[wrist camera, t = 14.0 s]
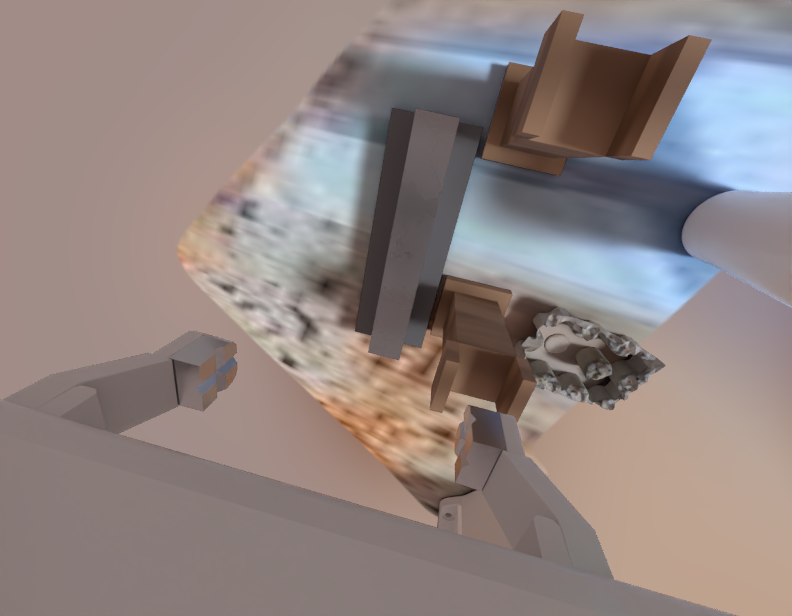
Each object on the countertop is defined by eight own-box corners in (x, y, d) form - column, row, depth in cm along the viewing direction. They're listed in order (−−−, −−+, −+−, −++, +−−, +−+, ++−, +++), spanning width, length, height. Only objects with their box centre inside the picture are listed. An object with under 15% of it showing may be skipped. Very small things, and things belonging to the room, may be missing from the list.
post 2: (556, 175, 25) (644, 186, 14) (480, 158, 25) (506, 156, 14) (592, 83, 22) (738, 5, 11) (507, 66, 22) (566, -29, 11)
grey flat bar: (421, 345, 33) (421, 348, 32) (356, 328, 33) (355, 331, 33) (482, 128, 24) (483, 127, 24) (393, 109, 24) (392, 107, 24)
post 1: (489, 344, 32) (511, 443, 21) (430, 329, 32) (421, 420, 21) (510, 290, 29) (549, 370, 18) (446, 275, 29) (446, 344, 18)
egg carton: (502, 353, 32) (509, 378, 29) (548, 293, 29) (563, 312, 25) (593, 397, 33) (611, 427, 29) (649, 343, 30) (677, 369, 26)
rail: (403, 343, 32) (398, 360, 30) (374, 336, 33) (368, 352, 30) (458, 122, 24) (459, 117, 21) (419, 114, 24) (415, 108, 21)
